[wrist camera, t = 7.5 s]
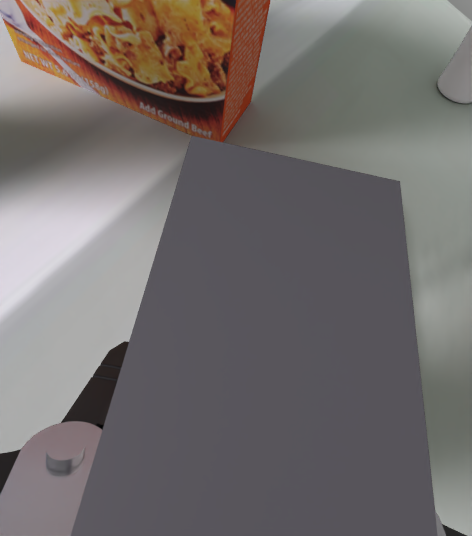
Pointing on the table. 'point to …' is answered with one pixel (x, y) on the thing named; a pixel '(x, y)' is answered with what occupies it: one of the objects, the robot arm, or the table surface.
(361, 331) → the dark grey block
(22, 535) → the robot arm
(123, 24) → the pasta box
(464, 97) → the drinking glass
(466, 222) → the table surface
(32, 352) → the table surface
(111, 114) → the table surface
